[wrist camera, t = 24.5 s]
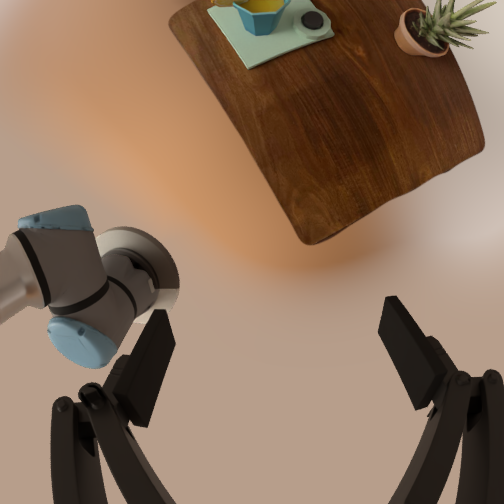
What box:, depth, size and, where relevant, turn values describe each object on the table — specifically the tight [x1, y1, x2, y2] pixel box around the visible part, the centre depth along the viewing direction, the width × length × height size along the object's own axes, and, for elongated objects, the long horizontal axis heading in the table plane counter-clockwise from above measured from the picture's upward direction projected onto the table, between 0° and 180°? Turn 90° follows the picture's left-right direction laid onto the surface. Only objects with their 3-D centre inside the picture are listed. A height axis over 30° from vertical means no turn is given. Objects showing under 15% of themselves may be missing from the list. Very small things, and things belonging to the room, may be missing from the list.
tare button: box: [302, 11, 323, 29], centre depth 29 cm, size 3×3×2 cm
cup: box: [211, 0, 291, 36], centre depth 24 cm, size 14×8×15 cm, turn 119°
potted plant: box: [394, 0, 496, 57], centre depth 20 cm, size 10×10×25 cm
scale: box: [207, 0, 335, 70], centre depth 31 cm, size 16×14×3 cm
